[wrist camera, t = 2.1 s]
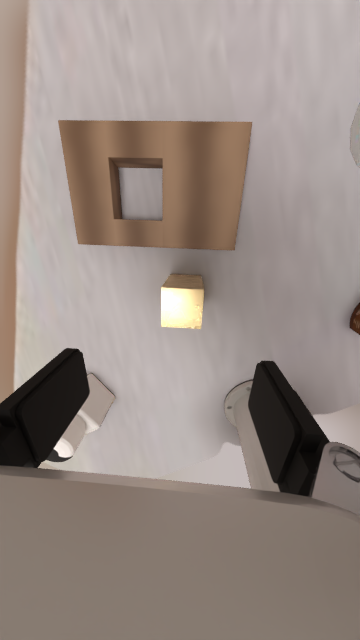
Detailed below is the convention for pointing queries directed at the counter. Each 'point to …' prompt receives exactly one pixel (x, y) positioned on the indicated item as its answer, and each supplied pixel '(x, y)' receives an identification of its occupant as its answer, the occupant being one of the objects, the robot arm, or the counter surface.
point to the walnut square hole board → (178, 180)
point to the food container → (355, 320)
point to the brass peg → (182, 301)
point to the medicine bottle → (84, 420)
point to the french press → (356, 137)
